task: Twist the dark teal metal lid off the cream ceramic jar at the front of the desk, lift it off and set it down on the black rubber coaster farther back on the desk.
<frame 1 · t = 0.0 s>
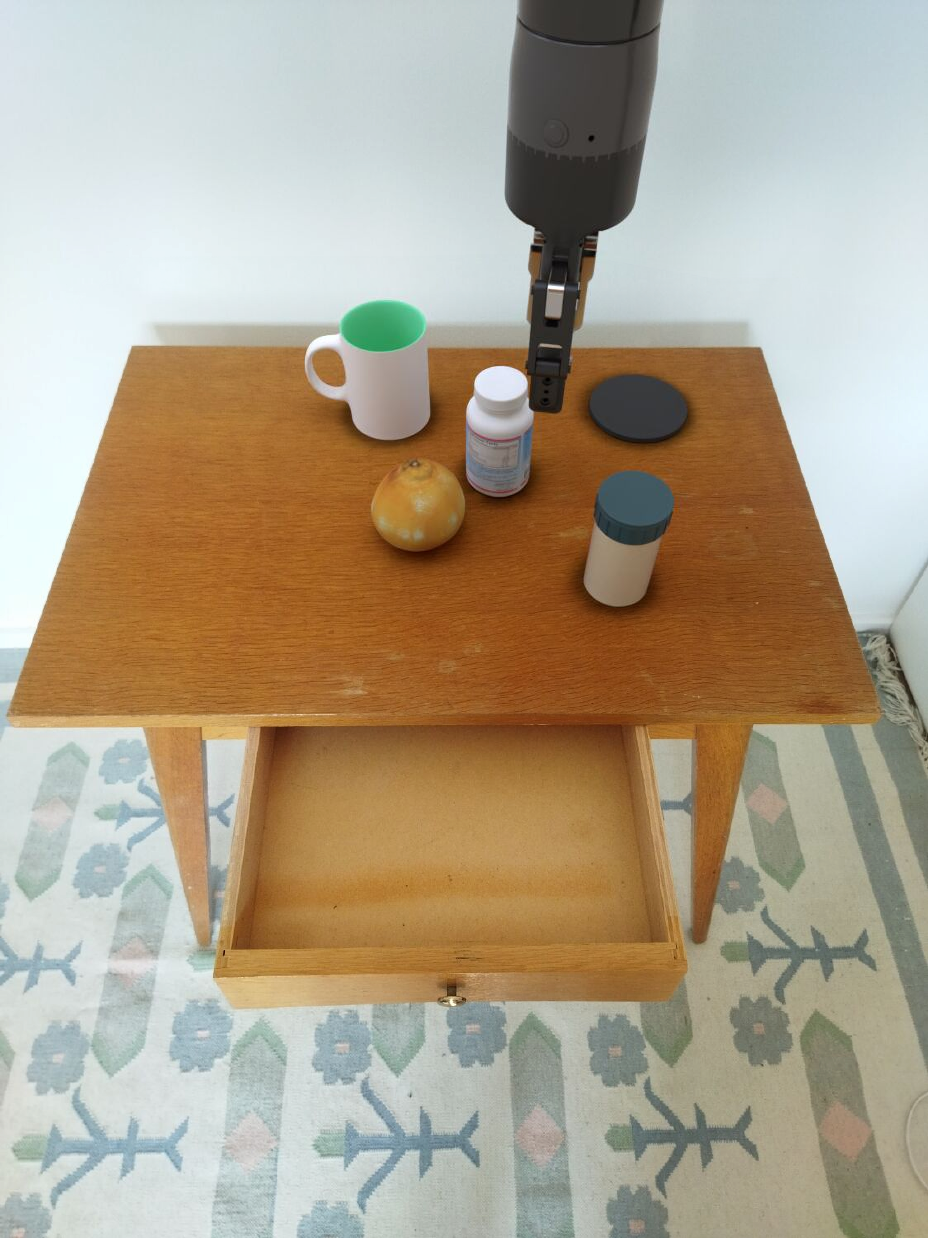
hand: (551, 368, 57), 20 cm above the table, tool pointing down, fingers open, 8 cm apart
mug: (372, 415, 85), on the table
fruit: (420, 532, 75), on the table
pill bottle: (497, 478, 79), on the table
coaster: (637, 409, 85), on the table
jar: (615, 581, 72), on the table
lid: (635, 500, 64), point 10 cm above the table, screwed on, not yet turned
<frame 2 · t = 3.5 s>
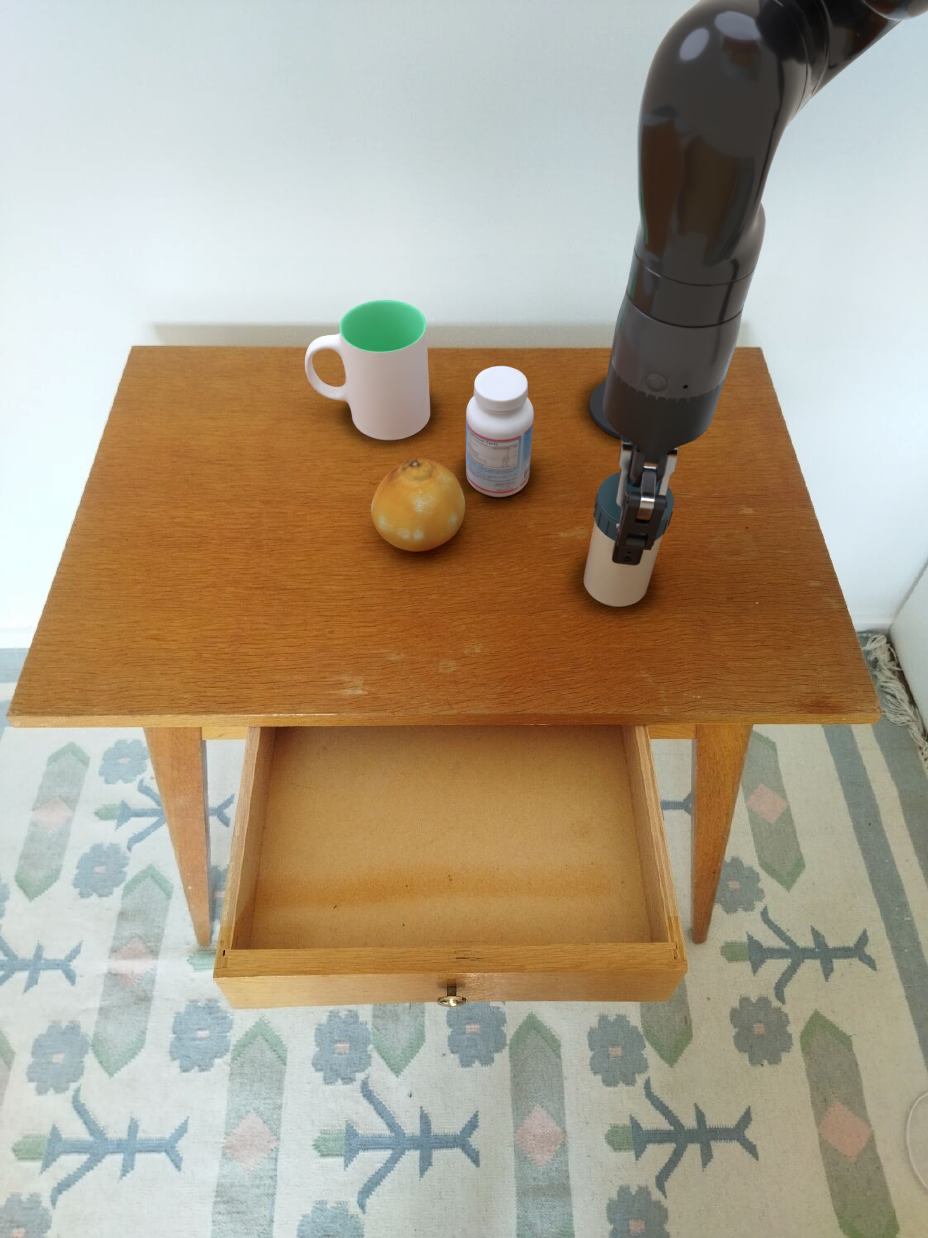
hand: (627, 530, 66), 7 cm above the table, tool pointing down, fingers closed on lid, 6 cm apart
lid: (635, 500, 64), point 10 cm above the table, screwed on, not yet turned, touching gripper
everything else where it was.
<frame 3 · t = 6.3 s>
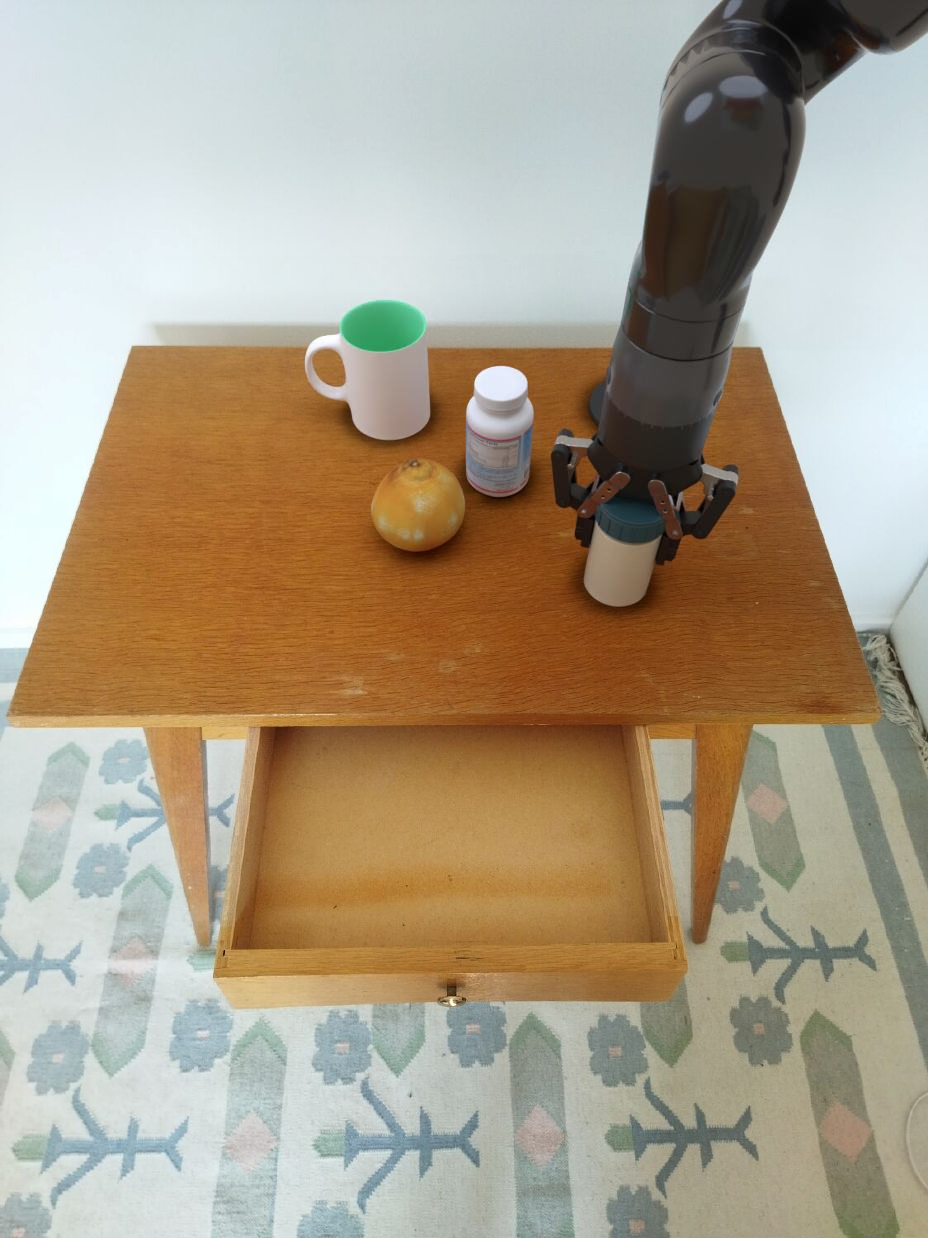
hand: (623, 548, 68), 4 cm above the table, tool pointing down, fingers closed on jar, lid, 5 cm apart
jar: (615, 581, 72), on the table, touching gripper
lid: (635, 498, 63), point 10 cm above the table, turned 82° so far, risen 0.2 cm, still on its thread, touching gripper
everything else where it was.
when the fingers open (4 cm above the table, at t = 6.3 s): jar stays where it is, on the table; lid stays where it is, point 10 cm above the table.
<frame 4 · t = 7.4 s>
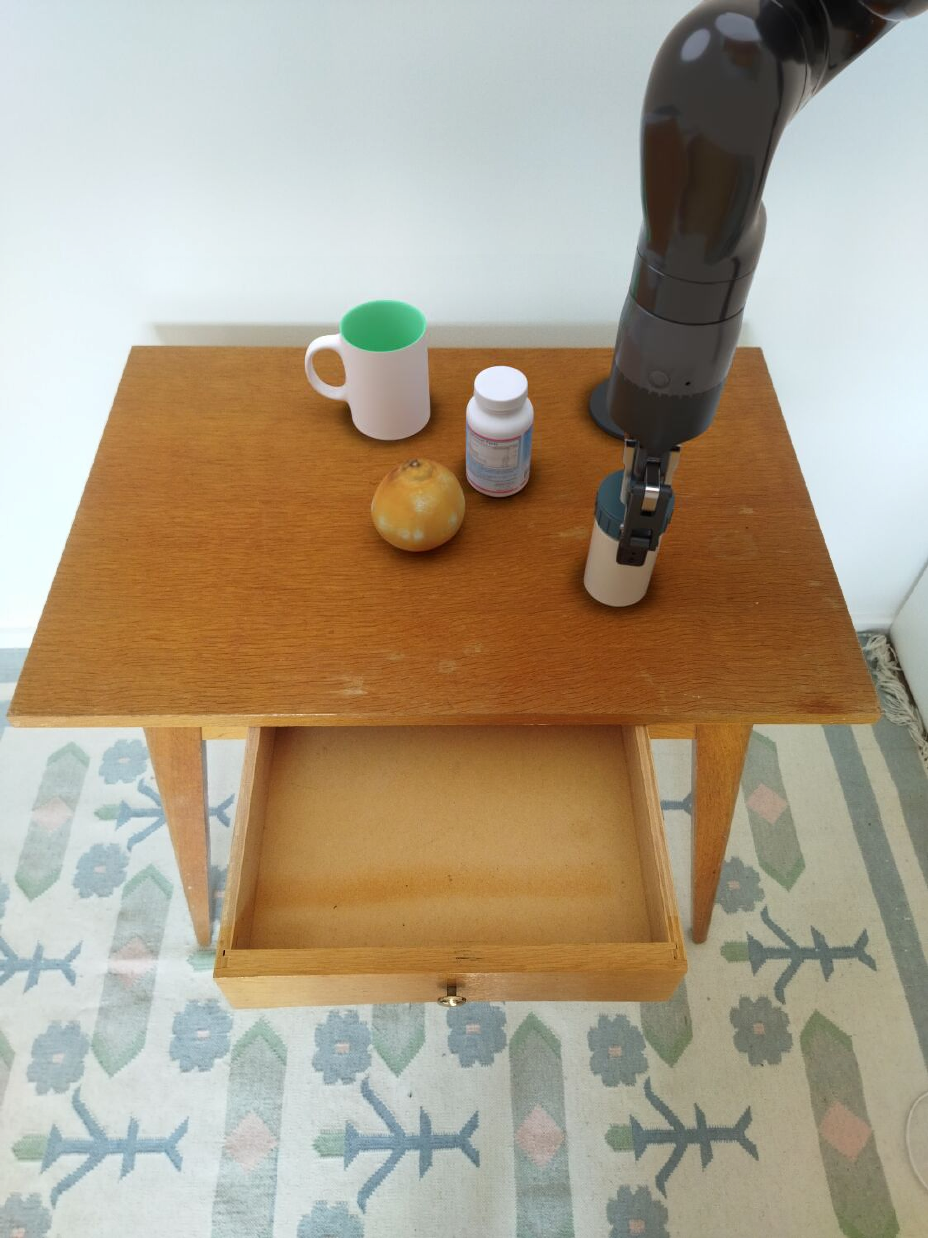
hand: (631, 522, 67), 7 cm above the table, tool pointing down, fingers open, 8 cm apart
jar: (615, 581, 72), on the table
lid: (635, 498, 63), point 10 cm above the table, turned 80° so far, risen 0.2 cm, still on its thread
everything else where it was.
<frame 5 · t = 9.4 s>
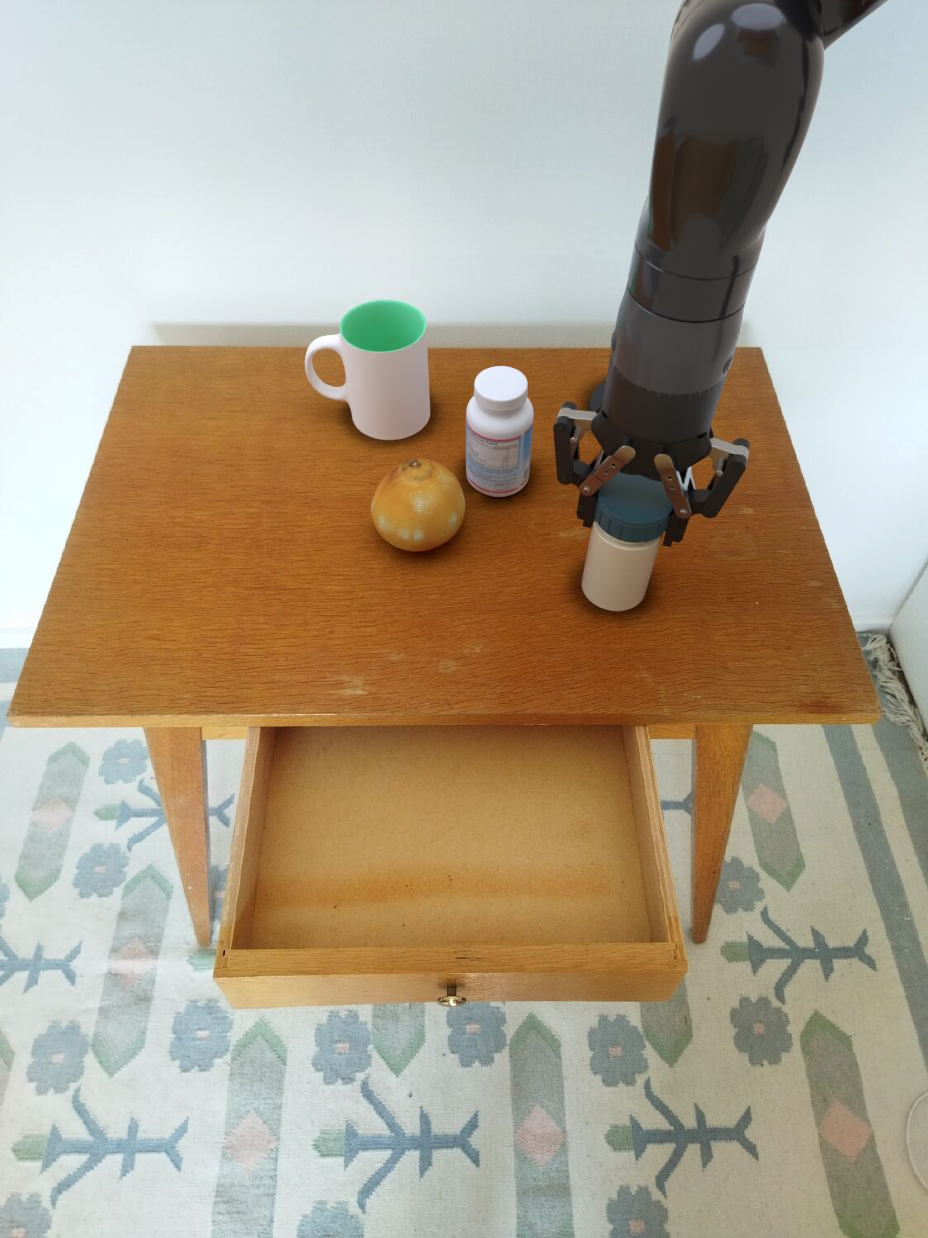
hand: (628, 528, 66), 7 cm above the table, tool pointing down, fingers closed on lid, 6 cm apart
jar: (613, 585, 72), on the table, touching gripper, lid
lid: (635, 498, 63), point 11 cm above the table, off its thread, touching gripper, jar
everything else where it was.
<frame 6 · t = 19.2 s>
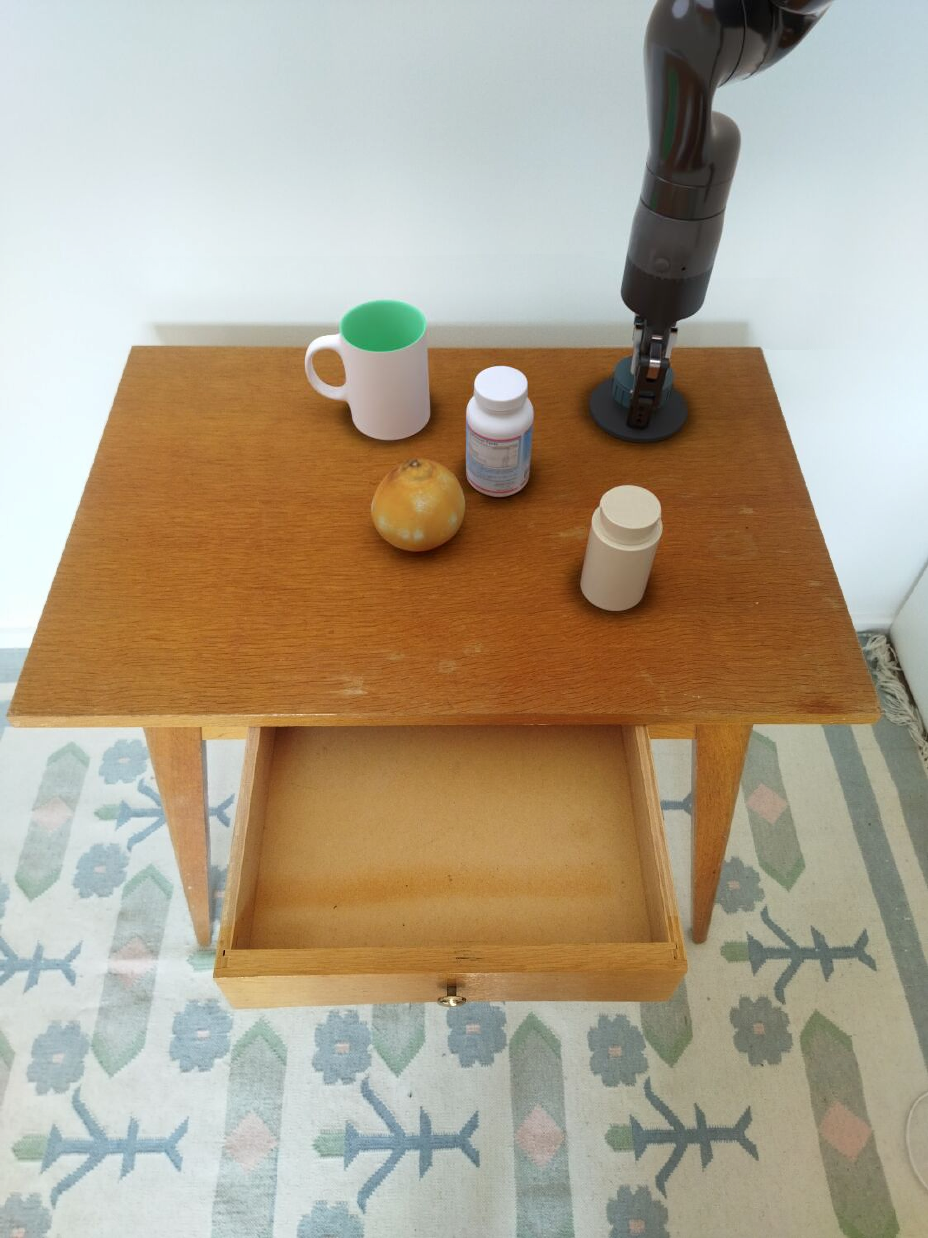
hand: (638, 404, 84), 1 cm above the table, tool pointing down, fingers closed on lid, 6 cm apart
jar: (612, 585, 72), on the table
lid: (643, 376, 82), point 4 cm above the table, off its thread, touching gripper
everything else where it was.
when the fingers open (2 cm above the table, at t = 29.2 s): lid drops 3 cm, resting on coaster.
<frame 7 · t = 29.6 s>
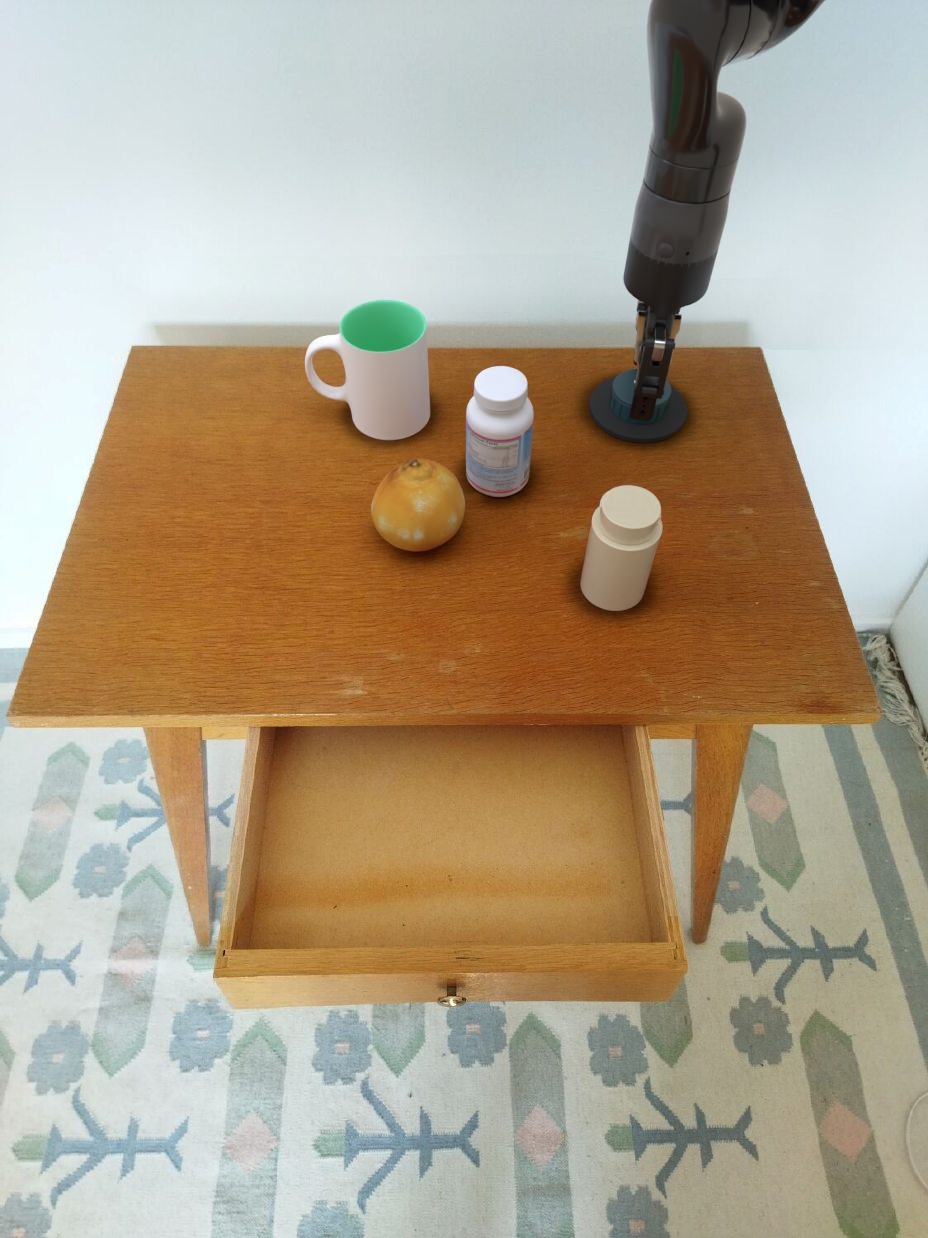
hand: (641, 389, 83), 3 cm above the table, tool pointing down, fingers open, 8 cm apart
lid: (641, 390, 83), point 2 cm above the table, off its thread, touching coaster
everything else where it was.
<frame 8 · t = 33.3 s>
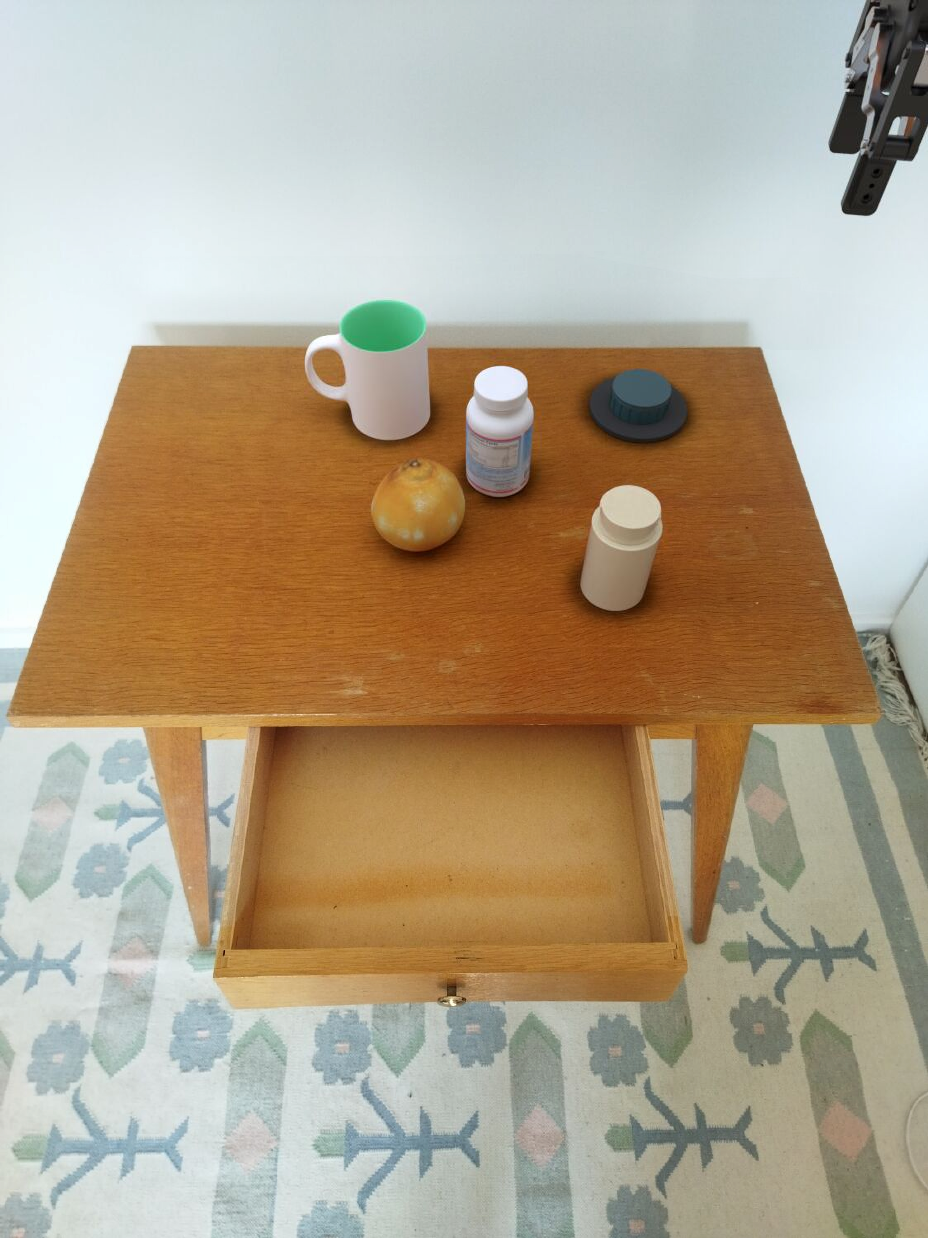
hand: (848, 180, 57), 28 cm above the table, tool pointing down, fingers open, 8 cm apart
nothing on the table moved.
at the end: lid inside the target area on the coaster (0.0 cm from its centre), point 2.5 cm above the coaster's base; lid point 2.5 cm above the table; the gripper is holding nothing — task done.
